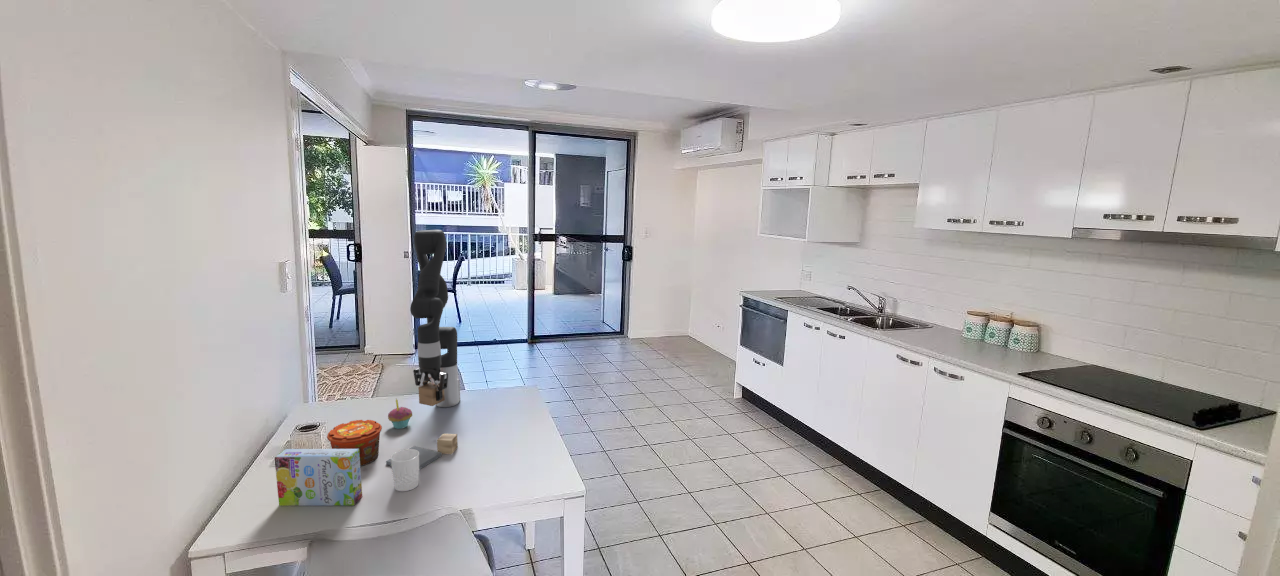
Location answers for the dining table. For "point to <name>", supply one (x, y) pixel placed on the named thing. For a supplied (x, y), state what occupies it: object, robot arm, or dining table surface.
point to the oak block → (447, 443)
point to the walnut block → (429, 395)
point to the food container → (357, 438)
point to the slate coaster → (423, 456)
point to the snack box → (318, 477)
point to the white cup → (405, 469)
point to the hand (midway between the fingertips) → (431, 398)
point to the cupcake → (400, 416)
